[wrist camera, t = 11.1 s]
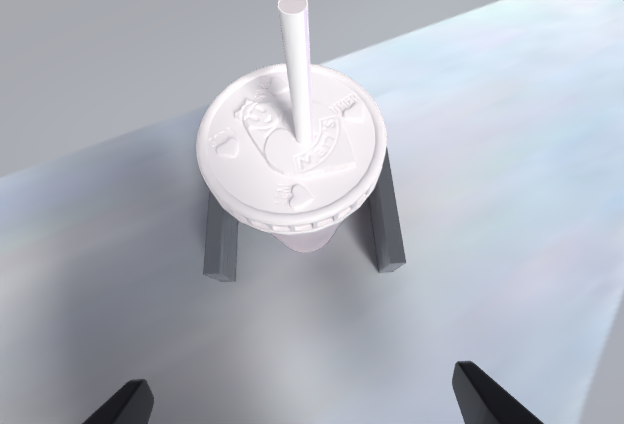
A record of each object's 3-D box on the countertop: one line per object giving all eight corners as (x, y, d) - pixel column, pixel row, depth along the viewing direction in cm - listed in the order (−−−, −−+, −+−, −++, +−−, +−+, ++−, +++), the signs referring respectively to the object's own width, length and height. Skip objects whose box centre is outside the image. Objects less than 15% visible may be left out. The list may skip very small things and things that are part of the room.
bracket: (392, 271, 17) (411, 258, 14) (222, 281, 17) (195, 271, 14) (373, 145, 20) (385, 106, 17) (229, 154, 21) (208, 117, 17)
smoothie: (323, 295, 17) (333, 213, 4) (235, 241, 18) (19, 44, 5) (373, 206, 19) (493, -53, 6) (289, 163, 20) (230, -128, 7)
